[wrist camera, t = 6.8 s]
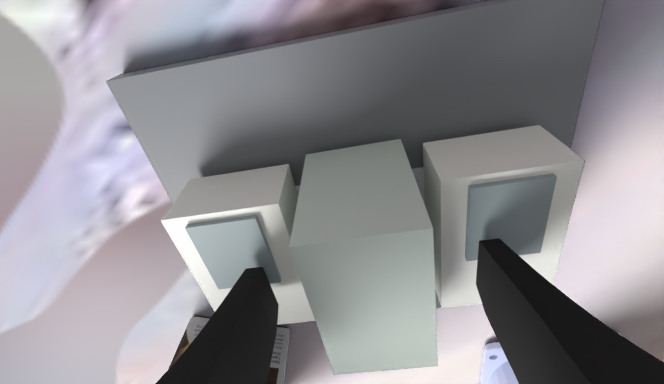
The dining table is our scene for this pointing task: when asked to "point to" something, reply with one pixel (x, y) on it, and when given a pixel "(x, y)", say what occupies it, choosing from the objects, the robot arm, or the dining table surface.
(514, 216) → the board
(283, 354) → the coffee box
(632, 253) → the dining table surface
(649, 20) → the dining table surface
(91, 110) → the dining table surface
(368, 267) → the block
